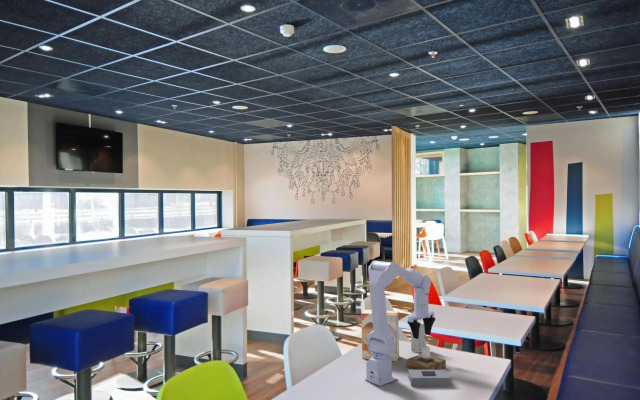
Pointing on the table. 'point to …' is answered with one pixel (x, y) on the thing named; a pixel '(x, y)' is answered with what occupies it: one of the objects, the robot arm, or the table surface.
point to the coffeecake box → (368, 327)
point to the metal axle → (426, 354)
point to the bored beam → (429, 378)
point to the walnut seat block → (419, 365)
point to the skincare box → (421, 341)
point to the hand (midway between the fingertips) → (421, 336)
